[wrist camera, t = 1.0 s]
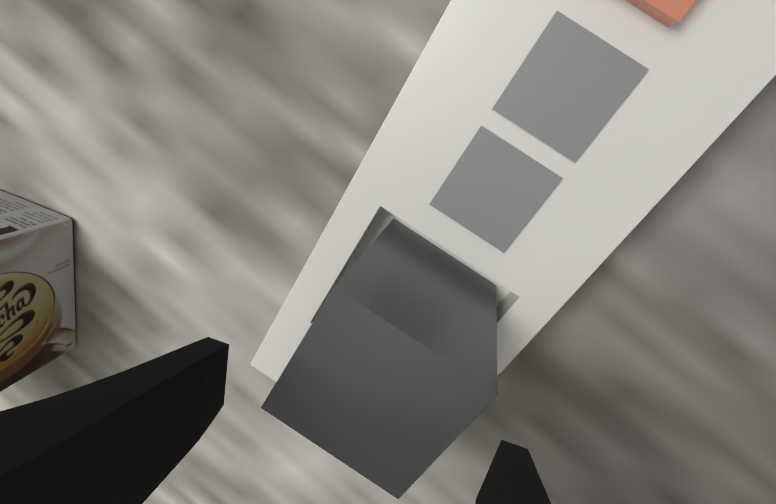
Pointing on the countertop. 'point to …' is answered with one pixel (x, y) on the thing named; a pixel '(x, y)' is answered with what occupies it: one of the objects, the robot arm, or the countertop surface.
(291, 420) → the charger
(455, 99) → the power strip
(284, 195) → the countertop surface
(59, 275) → the coffee box
